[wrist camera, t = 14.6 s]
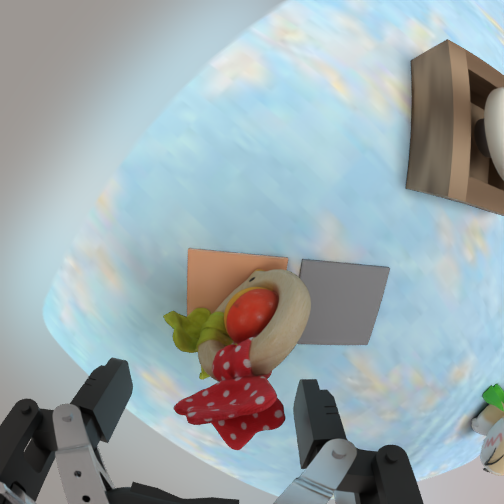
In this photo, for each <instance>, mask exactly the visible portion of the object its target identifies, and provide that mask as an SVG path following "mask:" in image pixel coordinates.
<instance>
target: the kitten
mask: <svg viewBox="0 0 504 504" xmlns="http://www.w3.org/2000/svg"><path fill="white" fill-rule="evenodd" d="M483 398H484V400H485V401H486V402H487V403H489V405H488V406H487V407H486V408H485V409H484V410H483V411H482V412H481V413H480V415H479V416H478V418H473V419H472V425H471V426H472V428H473V430H474V431H475V432H477V433H479V434H481V435H485V436H486V438H485V439H484V442H483V445H482V449H481V454H480V458H481V462H482V464H483V466H484V467H485V468H484V469H483V470H485V471H487V472H491V473H493V474H495V475H504V391H503V390H502V388H501V387H500V386H499V385H498V384H496V385H495V386H494V387H493V386H492V385H491V386H490V388H489V389H488V390H487V391H486V392H484V393H483Z"/></svg>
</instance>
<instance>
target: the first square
mask: <svg viewBox="0 0 504 504" xmlns="http://www.w3.org/2000/svg"><path fill="white" fill-rule="evenodd" d="M389 270H390V268H389V267H382V266H372V265H361V264H350V263H339V262H329V261H318V260H307V259H302V265H301V272H300V279H301V280H302V281H303V283H304V284H305V286H306V287H307V289H308V291H309V294H310V299H311V309H310V315H309V318H308V322H307V324H306V327H305V329H304V331H303V333H302V335H301V337H300V339H299V341H298V342H297V344H318V345H368V342H369V339H370V336H371V333H372V330H373V327H374V324H375V321H376V317H377V314H378V311H379V307H380V304H381V301H382V297H383V293H384V290H385V286H386V282H387V278H388V274H389Z"/></svg>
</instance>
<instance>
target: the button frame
mask: <svg viewBox="0 0 504 504" xmlns="http://www.w3.org/2000/svg"><path fill="white" fill-rule="evenodd" d="M411 75H412V119H411V139H410V153H409V164H408V173H407V182H406V189H410V190H414V191H418V192H423V193H427V194H430V195H434V196H438V197H442V198H446V199H449V200H453V201H456V202H460V203H463V204H467V205H470V206H473V207H476V208H480V209H483V210H486V211H489V212H492V213H495V214H499V215H502V216H504V181H503V179H502V178H501V177H500V175H499V174H498V172H497V170H496V168H495V166H494V163H493V161H492V158H487V157H485V156H483V155H482V154H481V152H480V151H479V149H478V147H477V145H476V142H475V137H474V128H475V124H476V122H477V121H478V120H479V119H482V118H484V112H485V104H486V100H487V98H488V96H489V94H490V93H491V91H493V90H494V89H497V88H501V87H504V75H502V74H501V73H500V72H498V71H497V70H496V69H494V68H493V67H491V66H490V65H489V64H487V63H486V62H484V61H483V60H481V59H480V58H478V57H477V56H475V55H473V54H472V53H470V52H469V51H467V50H465V49H464V48H462V47H460V46H459V45H457V44H455V43H453V42H451V41H450V40H448V39H447V40H446V41H444V42H442V43H440V44H438V45H437V46H435V47H433V48H431V49H430V50H428V51H426V52H424V53H423V54H421V55H419V56H418V57H416V58H414V59H413V60H411Z"/></svg>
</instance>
